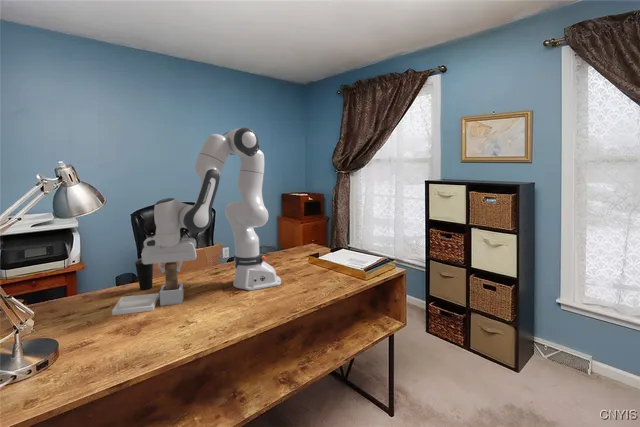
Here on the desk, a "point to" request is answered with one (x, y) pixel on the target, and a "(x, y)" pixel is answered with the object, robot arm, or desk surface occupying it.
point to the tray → (135, 304)
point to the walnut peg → (171, 276)
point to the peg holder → (171, 295)
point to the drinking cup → (144, 274)
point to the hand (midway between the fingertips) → (171, 272)
